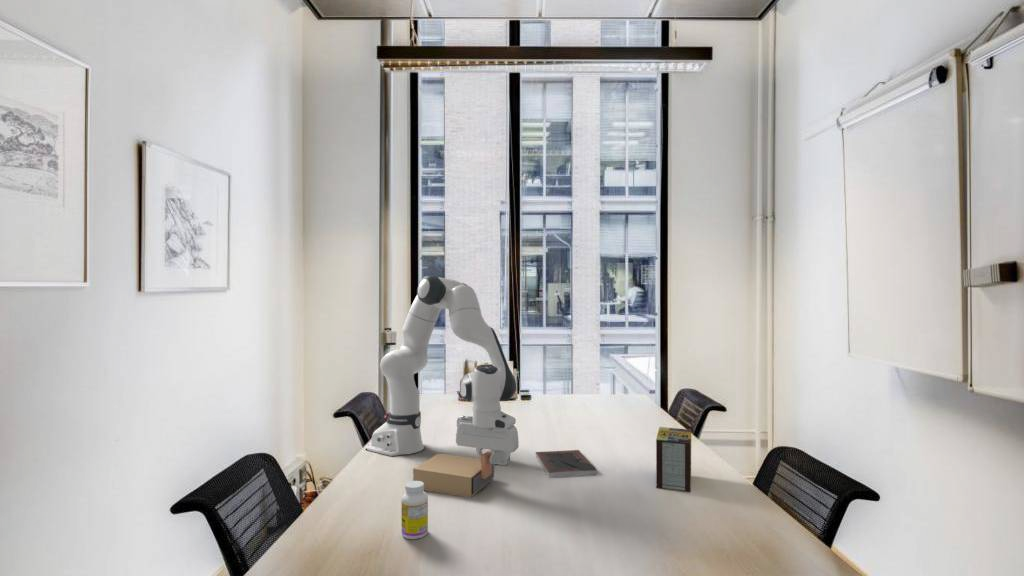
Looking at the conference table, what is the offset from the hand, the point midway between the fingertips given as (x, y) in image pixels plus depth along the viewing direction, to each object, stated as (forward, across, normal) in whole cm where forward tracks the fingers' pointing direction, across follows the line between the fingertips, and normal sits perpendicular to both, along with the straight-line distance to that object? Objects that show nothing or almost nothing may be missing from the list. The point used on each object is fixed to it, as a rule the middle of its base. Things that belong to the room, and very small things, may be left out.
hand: (486, 462), depth 165 cm
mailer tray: (+7, -10, 0) cm, 13 cm away
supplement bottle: (+8, -4, -34) cm, 35 cm away
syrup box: (+8, -6, +24) cm, 26 cm away
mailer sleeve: (+8, -12, 0) cm, 14 cm away
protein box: (+8, +54, +28) cm, 61 cm away
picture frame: (+9, +16, +30) cm, 35 cm away
